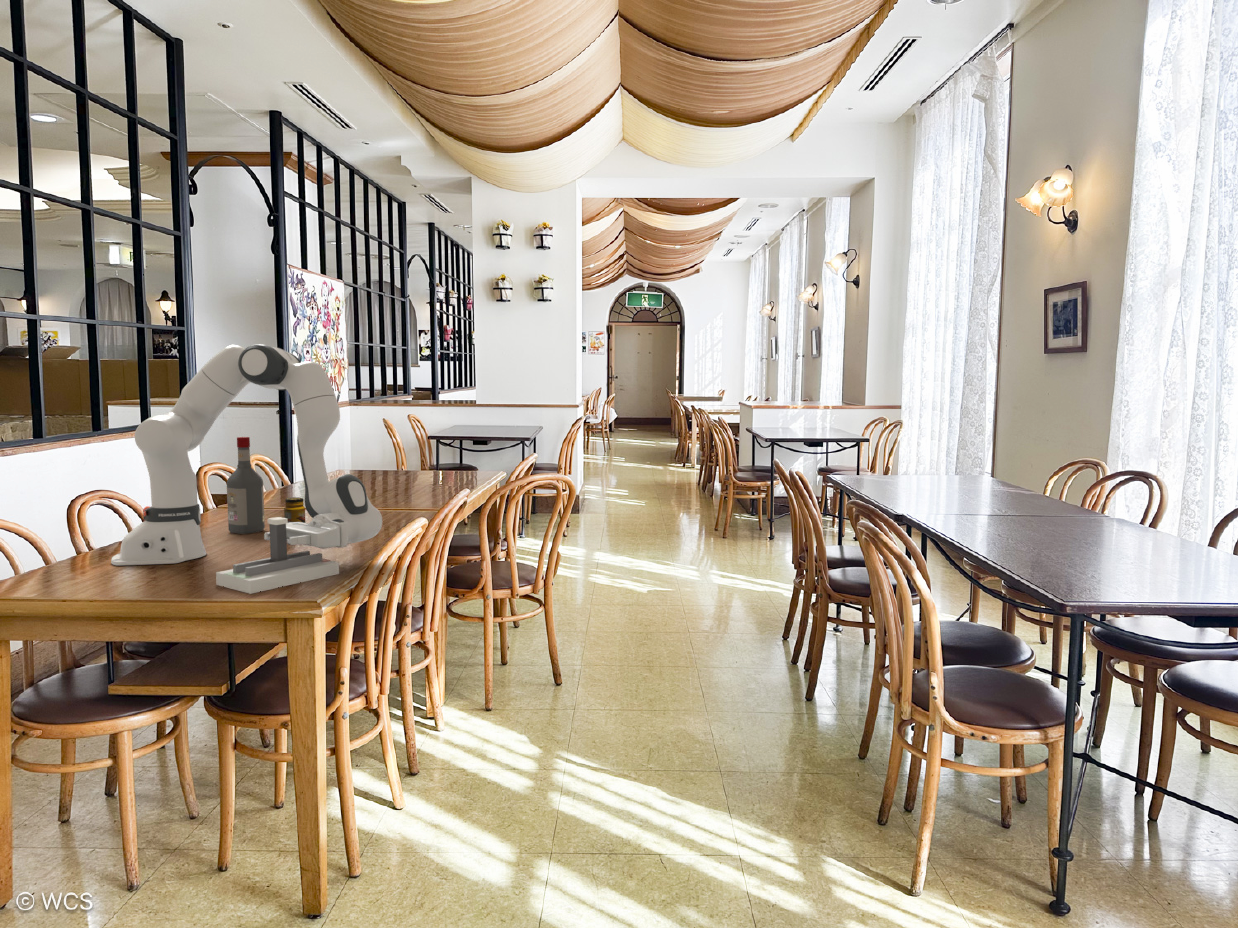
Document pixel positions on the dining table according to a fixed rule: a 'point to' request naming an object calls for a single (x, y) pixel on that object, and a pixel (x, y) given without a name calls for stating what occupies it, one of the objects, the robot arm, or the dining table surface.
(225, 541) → the dining table surface
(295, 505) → the condiment
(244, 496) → the liquor
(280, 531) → the handle
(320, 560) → the box
